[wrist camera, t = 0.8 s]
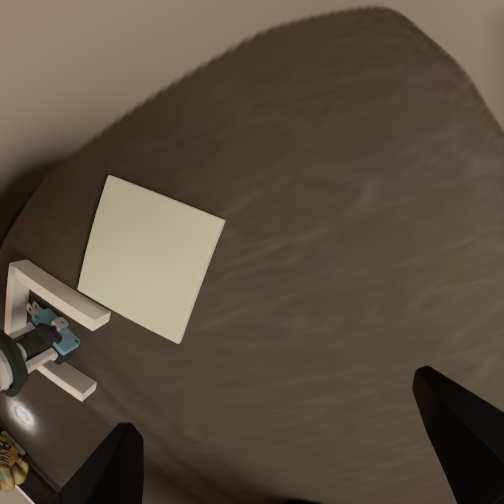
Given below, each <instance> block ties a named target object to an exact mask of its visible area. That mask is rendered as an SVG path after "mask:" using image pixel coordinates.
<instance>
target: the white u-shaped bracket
mask: <svg viewBox="0 0 504 504" xmlns="http://www.w3.org/2000/svg"><path fill="white" fill-rule="evenodd" d="M29 289H30V290H32V291H33V292H34V293H36V294H37V295H39V296H40V297H41V298H43V299H44V300H46V301H47V302H49V303H50V304H51V305H53V306H54V307H56V308H57V309H59V310H60V311H62V312H63V313H65V314H66V315H68V316H69V317H71V318H72V319H74V320H76V321H77V322H79V323H80V324H82V325H84V326H85V327H87V328H88V329H90V330H92V331H94V330H95V329H97V328H99V327H100V326H102V325H104V324H105V323H107V322H109V318H110V313H111V311H109V310H107V309H106V308H104V307H102V306H100V305H99V304H97V303H95V302H93V301H92V300H90V299H88V298H87V297H85V296H83V295H82V294H80V293H78V292H77V291H75V290H73V289H72V288H70V287H68V286H67V285H65V284H64V283H62V282H60V281H59V280H57V279H56V278H54V277H53V276H51V275H50V274H48V273H46V272H45V271H43V270H42V269H40V268H39V267H37V266H36V265H34V264H33V263H31V262H30V261H29V260H22V261H17V262H13V263H10V264H9V272H8V281H7V293H6V308H5V333H6V334H10V333H12V332H14V331H17V330H19V329H21V328H23V327H25V326H26V319H27V309H26V307H27V304H28V298H29ZM36 369H37V370H39V371H40V372H41V373H42V374H44V375H45V376H46V377H48V378H49V379H50V380H52V381H53V382H54V383H56V384H57V385H59V386H60V387H61V388H63V389H64V390H66V391H67V392H68V393H70V394H71V395H73V396H74V397H76V398H77V399H79V400H80V401H83V400H84V399H85V398H87V397H88V396H89V395H90V394H91V393H92V392H93V391H94V390H96V383H97V382H96V381H94V380H92V379H91V378H89V377H88V376H86V375H85V374H83V373H81V372H80V371H78V370H77V369H75V368H74V367H72V366H71V365H69V364H68V363H67V362H63V363H62V364H60V365H57V364H56V363H55V362H54V361H52V360H49V361H47V362H46V363H44V364H43V365H41V366H39V367H38V368H36Z"/></svg>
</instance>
